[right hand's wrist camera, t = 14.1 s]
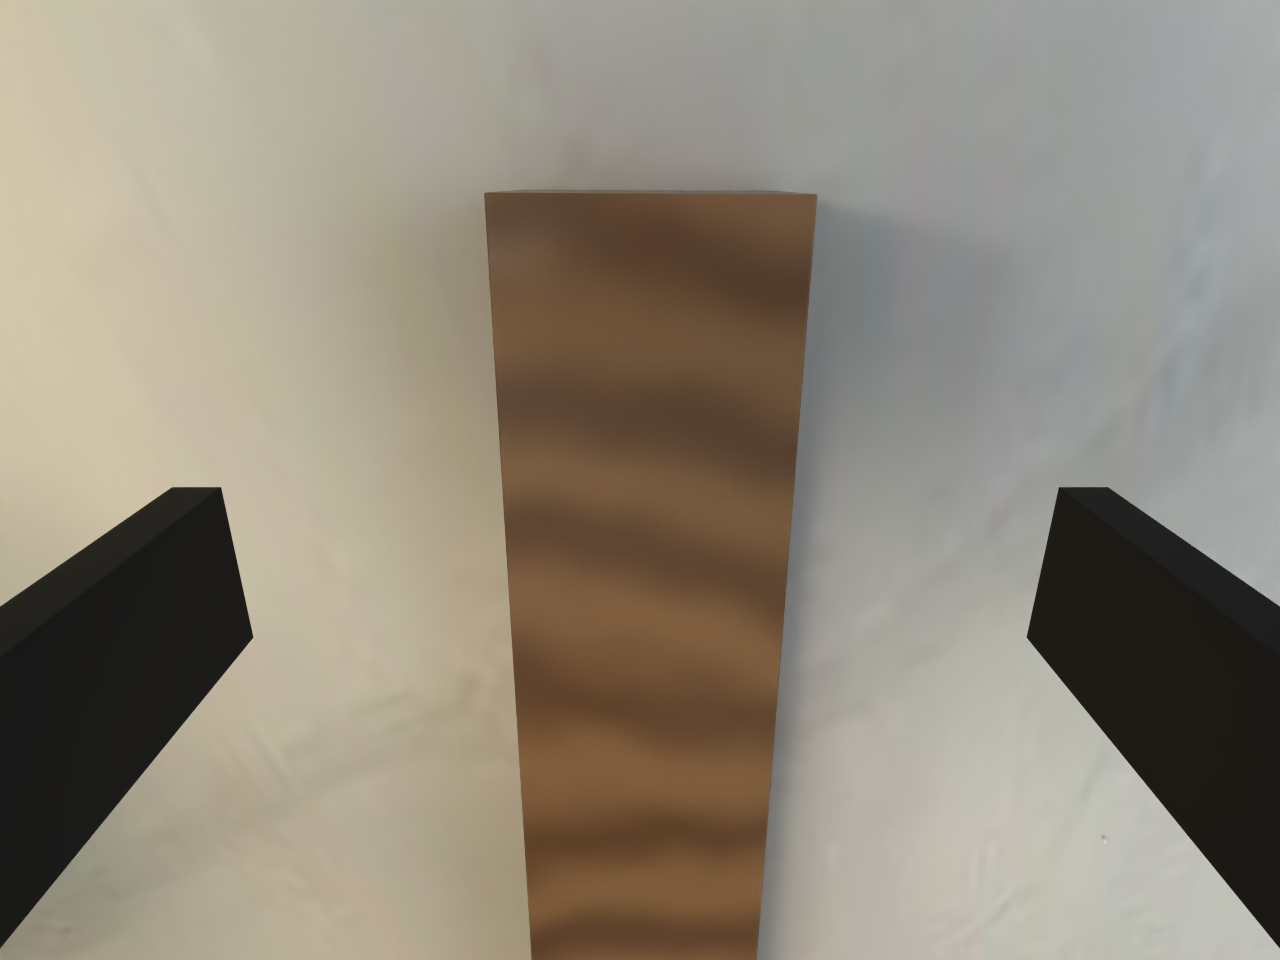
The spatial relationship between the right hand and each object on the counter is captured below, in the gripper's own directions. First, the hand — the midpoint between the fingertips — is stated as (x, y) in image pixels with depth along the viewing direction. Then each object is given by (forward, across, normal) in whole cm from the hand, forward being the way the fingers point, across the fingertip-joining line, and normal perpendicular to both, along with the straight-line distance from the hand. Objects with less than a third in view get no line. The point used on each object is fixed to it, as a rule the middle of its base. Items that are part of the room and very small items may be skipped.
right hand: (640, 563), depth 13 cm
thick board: (+19, 0, -23) cm, 30 cm away
